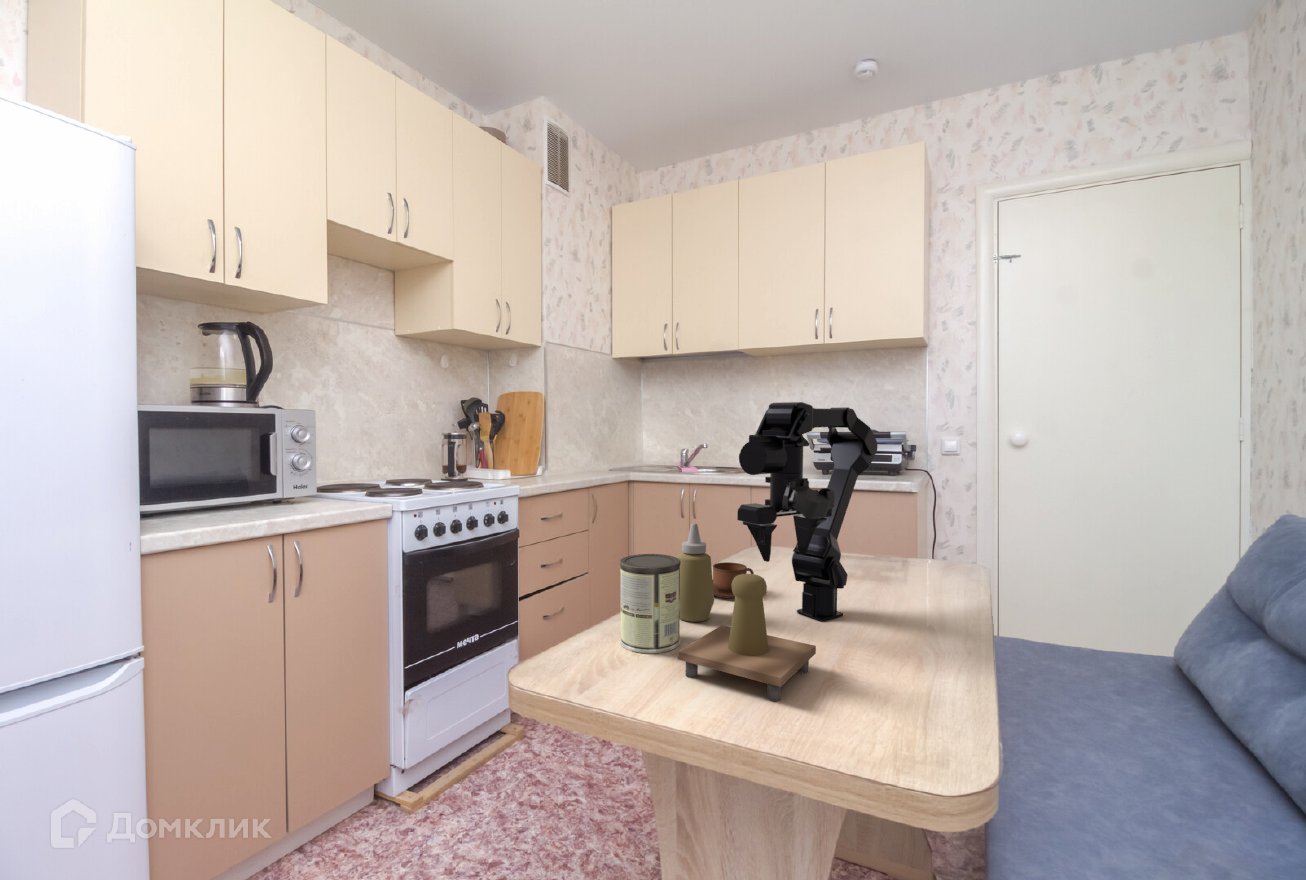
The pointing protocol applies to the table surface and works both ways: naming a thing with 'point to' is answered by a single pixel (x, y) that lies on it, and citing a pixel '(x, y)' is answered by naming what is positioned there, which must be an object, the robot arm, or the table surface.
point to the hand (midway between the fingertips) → (785, 558)
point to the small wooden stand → (749, 659)
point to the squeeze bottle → (695, 579)
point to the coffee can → (650, 603)
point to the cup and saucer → (726, 577)
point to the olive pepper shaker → (748, 616)
